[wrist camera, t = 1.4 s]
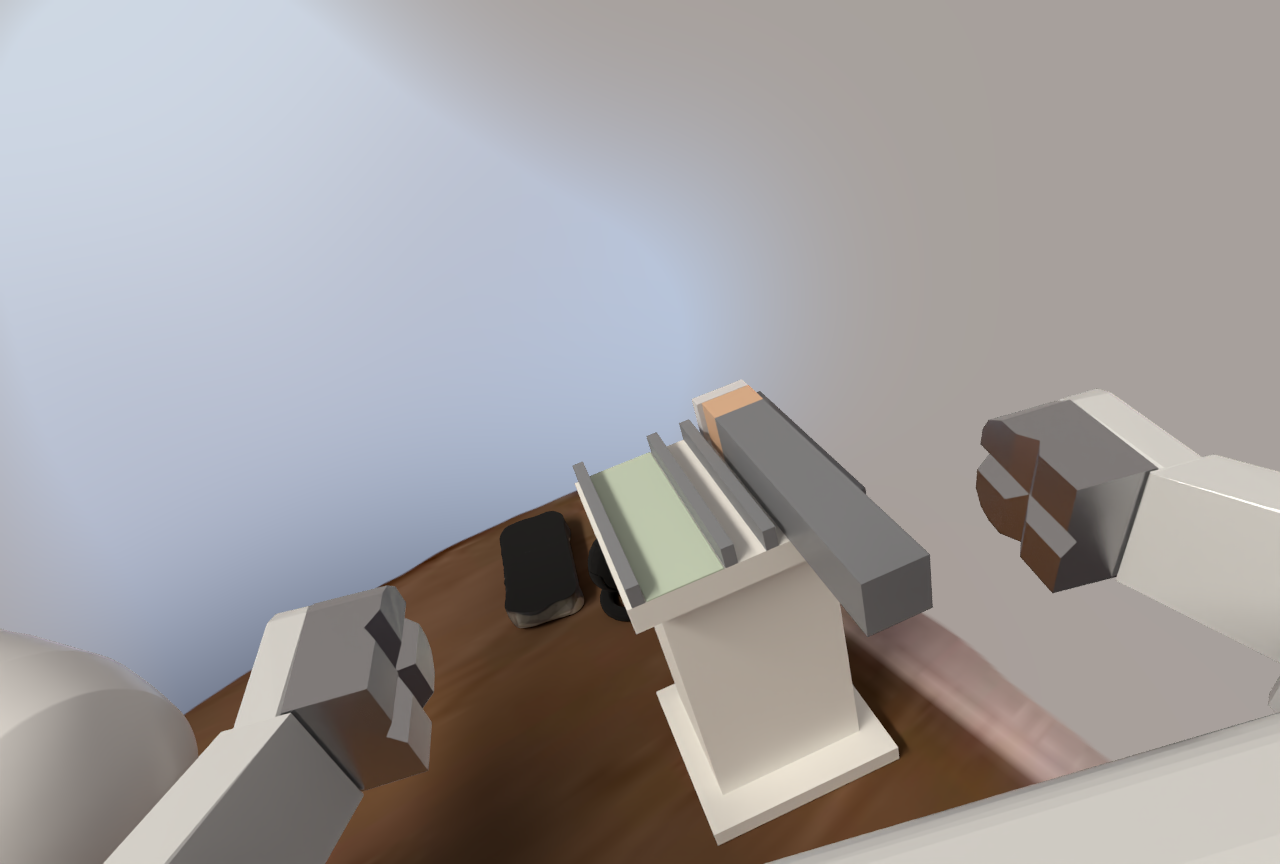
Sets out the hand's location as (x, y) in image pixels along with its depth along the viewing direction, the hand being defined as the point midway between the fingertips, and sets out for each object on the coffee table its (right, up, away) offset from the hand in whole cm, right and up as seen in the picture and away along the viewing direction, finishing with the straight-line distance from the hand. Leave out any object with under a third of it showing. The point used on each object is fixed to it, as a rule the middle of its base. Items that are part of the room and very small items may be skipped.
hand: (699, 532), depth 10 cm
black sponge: (-12, -16, +74) cm, 77 cm away
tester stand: (+10, -24, +50) cm, 57 cm away
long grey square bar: (+9, -3, +33) cm, 34 cm away
